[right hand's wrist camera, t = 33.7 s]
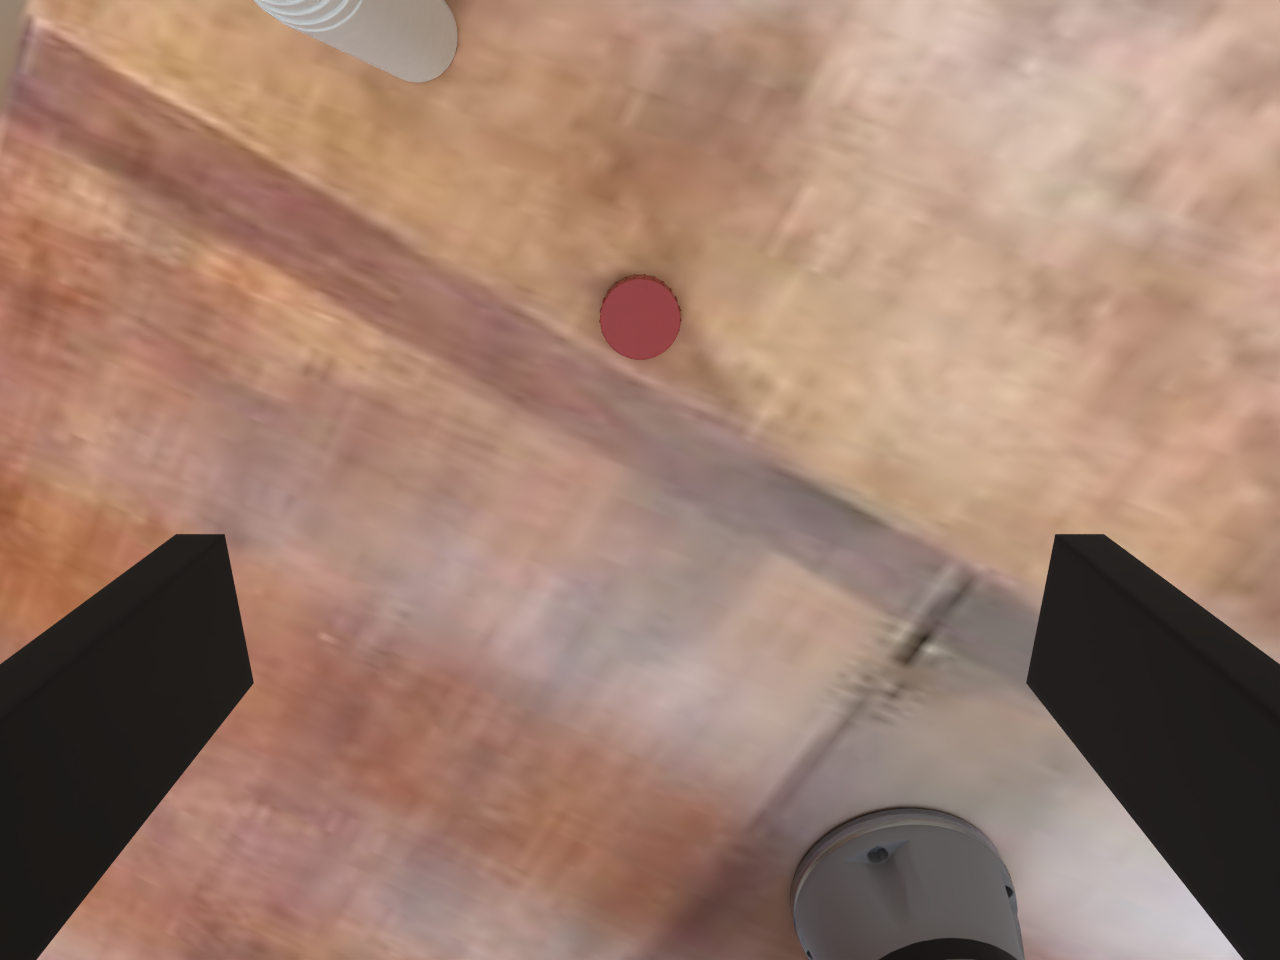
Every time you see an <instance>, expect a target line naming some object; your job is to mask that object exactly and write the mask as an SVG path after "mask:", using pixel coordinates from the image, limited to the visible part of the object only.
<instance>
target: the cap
mask: <svg viewBox="0 0 1280 960" xmlns="http://www.w3.org/2000/svg"><path fill="white" fill-rule="evenodd" d="M680 311H681V310H680V307H679V306H678V304H677V298H676V296H674V294H673V293H672V290H671V288H670V289H669V288H668V286H667V285H665V284H664V282H663V281H662V282H661V281H660V280H658V279H656V278H655V277H650V276H646V275H645V274H644V275H635V274H634V276H630V277H627V278H626V277H624V279H623V280H621V281H619V282H618V283H617V282H616V283H615V285H614V286H613V287H612V288H611V289H609V290H608V294H607V295H606V298H604V299H603V306H602V307H601V309H600V313H601V315H600V323H601V329H602V333H603V335H604V337H605V339H606V341H607V342H608V344H609V345H610V346H611V347H612V348H613V349H614V350H615V351H616V352H618V353H619V354H621V355H623V356H625V357H628V358H631V359H639V360H642V359H649V358H653V357H656V356H658V355H660V354H661V353H663V352H664V351H666V350H667V349H668V348H669V347H670V346H671V344H672V343H673V342H674V341H675V339H676V336H677V334H678V331H679V328H680V321H681V318H680Z"/></svg>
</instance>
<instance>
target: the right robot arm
mask: <svg viewBox="0 0 1280 960" xmlns="http://www.w3.org/2000/svg"><path fill="white" fill-rule="evenodd" d="M253 683H254V682H253V677H252V672H251V667H250V662H249V657H248V652H247V646H246V641H245V636H244V631H243V626H242V621H241V616H240V611H239V606H238V600H237V595H236V590H235V585H234V580H233V575H232V570H231V565H230V560H229V554H228V549H227V544H226V539H225V534H176V535H175V536H173V537H172V538H170V539H169V540H168V541H166V542H165V543H164V544H162V545H161V546H160V547H158V548H157V549H156V550H154V551H153V552H152V553H150V554H149V555H147V556H146V557H145V558H143V559H142V560H141V561H139V562H138V563H137V564H135V565H134V566H133V567H131V568H130V569H129V570H127V571H126V572H125V573H123V574H122V575H120V576H119V577H118V578H116V579H115V580H114V581H112V582H111V583H110V584H108V585H107V586H106V587H104V588H103V589H102V590H100V591H99V592H97V593H96V594H95V595H93V596H92V597H91V598H89V599H88V600H87V601H85V602H84V603H83V604H81V605H80V606H79V607H77V608H76V609H75V610H73V611H72V612H70V613H69V614H68V615H66V616H65V617H64V618H62V619H61V620H60V621H58V622H57V623H56V624H54V625H53V626H52V627H50V628H49V629H47V630H46V631H45V632H43V633H42V634H41V635H39V636H38V637H37V638H35V639H34V640H33V641H31V642H30V643H29V644H27V645H26V646H25V647H23V648H22V649H20V650H19V651H18V652H16V653H15V654H14V655H12V656H11V657H10V658H8V659H7V660H6V661H4V662H3V663H2V664H0V960H37V958H38V957H39V956H40V954H41V953H42V952H43V951H44V949H45V948H46V947H47V946H48V944H49V943H50V942H51V940H52V939H53V938H54V937H55V935H56V934H57V933H58V932H59V930H60V929H61V928H62V926H63V925H64V924H65V923H66V921H67V920H68V919H69V918H70V916H71V915H72V914H73V912H74V911H75V910H76V909H77V907H78V906H79V905H80V904H81V902H82V901H83V900H84V898H85V897H86V896H87V895H88V893H89V892H90V891H91V890H92V888H93V887H94V886H95V884H96V883H97V882H98V881H99V879H100V878H101V877H102V876H103V874H104V873H105V872H106V870H107V869H108V868H109V867H110V865H111V864H112V863H113V862H114V860H115V859H116V858H117V856H118V855H119V854H120V853H121V851H122V850H123V849H124V848H125V846H126V845H127V844H128V842H129V841H130V840H131V839H132V837H133V836H134V835H135V834H136V832H137V831H138V830H139V828H140V827H141V826H142V825H143V823H144V822H145V821H146V819H147V818H148V817H149V816H150V814H151V813H152V812H153V811H154V809H155V808H156V807H157V805H158V804H159V803H160V802H161V800H162V799H163V798H164V797H165V795H166V794H167V793H168V791H169V790H170V789H171V788H172V786H173V785H174V784H175V783H176V781H177V780H178V779H179V777H180V776H181V775H182V774H183V772H184V771H185V770H186V769H187V767H188V766H189V765H190V763H191V762H192V761H193V760H194V758H195V757H196V756H197V755H198V753H199V752H200V751H201V749H202V748H203V747H204V746H205V744H206V743H207V742H208V741H209V739H210V738H211V737H212V735H213V734H214V733H215V732H216V730H217V729H218V728H219V727H220V725H221V724H222V723H223V721H224V720H225V719H226V718H227V716H228V715H229V714H230V713H231V711H232V710H233V709H234V707H235V706H236V705H237V704H238V702H239V701H240V700H241V699H242V697H243V696H244V695H245V693H246V692H247V691H248V690H249V688H250V687H251V686H252V685H253ZM1026 683H1027V685H1028V686H1029V687H1030V688H1031V690H1032V691H1033V692H1034V693H1035V695H1036V696H1037V697H1038V699H1039V700H1040V701H1041V702H1042V704H1043V705H1044V706H1045V707H1046V709H1047V710H1048V711H1049V713H1050V714H1051V715H1052V716H1053V718H1054V719H1055V720H1056V721H1057V723H1058V724H1059V725H1060V727H1061V728H1062V729H1063V730H1064V732H1065V733H1066V734H1067V735H1068V737H1069V738H1070V739H1071V741H1072V742H1073V743H1074V744H1075V746H1076V747H1077V748H1078V749H1079V751H1080V752H1081V753H1082V755H1083V756H1084V757H1085V758H1086V760H1087V761H1088V762H1089V763H1090V765H1091V766H1092V767H1093V769H1094V770H1095V771H1096V772H1097V774H1098V775H1099V776H1100V777H1101V779H1102V780H1103V781H1104V783H1105V784H1106V785H1107V786H1108V788H1109V789H1110V790H1111V791H1112V793H1113V794H1114V795H1115V797H1116V798H1117V799H1118V800H1119V802H1120V803H1121V804H1122V805H1123V807H1124V808H1125V809H1126V811H1127V812H1128V813H1129V814H1130V816H1131V817H1132V818H1133V820H1134V821H1135V822H1136V823H1137V825H1138V826H1139V827H1140V828H1141V830H1142V831H1143V832H1144V834H1145V835H1146V836H1147V837H1148V839H1149V840H1150V841H1151V842H1152V844H1153V845H1154V846H1155V848H1156V849H1157V850H1158V851H1159V853H1160V854H1161V855H1162V856H1163V858H1164V859H1165V860H1166V862H1167V863H1168V864H1169V865H1170V867H1171V868H1172V869H1173V870H1174V872H1175V873H1176V874H1177V876H1178V877H1179V878H1180V879H1181V881H1182V882H1183V883H1184V884H1185V886H1186V887H1187V888H1188V890H1189V891H1190V892H1191V893H1192V895H1193V896H1194V897H1195V898H1196V900H1197V901H1198V902H1199V904H1200V905H1201V906H1202V907H1203V909H1204V910H1205V911H1206V912H1207V914H1208V915H1209V916H1210V918H1211V919H1212V920H1213V921H1214V923H1215V924H1216V925H1217V926H1218V928H1219V929H1220V930H1221V932H1222V933H1223V934H1224V935H1225V937H1226V938H1227V939H1228V940H1229V942H1230V943H1231V944H1232V946H1233V947H1234V948H1235V949H1236V951H1237V952H1238V953H1239V954H1240V956H1241V957H1242V958H1243V960H1280V664H1278V663H1277V662H1276V661H1274V660H1273V659H1272V658H1270V657H1269V656H1268V655H1266V654H1265V653H1264V652H1262V651H1261V650H1260V649H1258V648H1257V647H1255V646H1254V645H1253V644H1251V643H1250V642H1249V641H1247V640H1246V639H1245V638H1243V637H1242V636H1241V635H1239V634H1238V633H1237V632H1235V631H1234V630H1233V629H1231V628H1230V627H1228V626H1227V625H1226V624H1224V623H1223V622H1222V621H1220V620H1219V619H1218V618H1216V617H1215V616H1214V615H1212V614H1211V613H1210V612H1208V611H1207V610H1205V609H1204V608H1203V607H1201V606H1200V605H1199V604H1197V603H1196V602H1195V601H1193V600H1192V599H1191V598H1189V597H1188V596H1187V595H1185V594H1184V593H1183V592H1181V591H1180V590H1178V589H1177V588H1176V587H1174V586H1173V585H1172V584H1170V583H1169V582H1168V581H1166V580H1165V579H1164V578H1162V577H1161V576H1160V575H1158V574H1157V573H1155V572H1154V571H1153V570H1151V569H1150V568H1149V567H1147V566H1146V565H1145V564H1143V563H1142V562H1141V561H1139V560H1138V559H1137V558H1135V557H1134V556H1133V555H1131V554H1130V553H1128V552H1127V551H1126V550H1124V549H1123V548H1122V547H1120V546H1119V545H1118V544H1116V543H1115V542H1114V541H1112V540H1111V539H1110V538H1108V537H1107V536H1105V535H1104V534H1055V539H1054V544H1053V549H1052V554H1051V559H1050V565H1049V570H1048V575H1047V580H1046V585H1045V590H1044V595H1043V600H1042V606H1041V611H1040V616H1039V621H1038V626H1037V631H1036V636H1035V641H1034V646H1033V652H1032V657H1031V662H1030V667H1029V672H1028V677H1027V682H1026ZM790 903H791V910H792V915H793V920H794V925H795V929H796V933H797V936H798V939H799V941H800V943H801V945H802V948H803V950H804V952H805V954H806V956H807V957H808V959H809V960H1025V957H1024V950H1023V943H1022V936H1021V930H1020V925H1019V921H1018V917H1017V902H1016V895H1015V891H1014V887H1013V884H1012V881H1011V877H1010V875H1009V872H1008V870H1007V868H1006V866H1005V864H1004V862H1003V861H1002V859H1001V857H1000V855H999V853H998V851H997V850H996V848H995V847H994V845H993V844H992V843H991V841H990V840H989V839H988V838H987V837H986V836H985V835H984V834H983V833H982V832H981V831H979V830H978V829H977V828H975V827H974V826H972V825H971V824H969V823H967V822H966V821H964V820H962V819H959V818H957V817H955V816H952V815H949V814H946V813H942V812H938V811H933V810H926V809H908V808H906V809H893V810H886V811H881V812H876V813H872V814H869V815H865V816H862V817H860V818H857V819H854V820H852V821H850V822H848V823H846V824H844V825H842V826H840V827H838V828H837V829H835V830H833V831H832V832H830V833H829V834H828V835H826V836H825V837H824V838H823V839H821V840H820V841H819V842H818V843H817V844H816V845H815V846H814V847H813V848H812V849H811V850H810V851H809V852H808V854H807V855H806V856H805V858H804V859H803V861H802V862H801V864H800V865H799V867H798V869H797V871H796V874H795V876H794V879H793V883H792V887H791V895H790Z"/></svg>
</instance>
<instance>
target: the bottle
mask: <svg viewBox="0 0 1280 960" xmlns="http://www.w3.org/2000/svg"><path fill="white" fill-rule="evenodd" d="M254 1H255V2H256V3H257V5H258V6H260V7H261V8H262V9H263V10H264V11H266V12H267V13H269V14H270V15H272V16H273V17H274V18H276V19H277V20H278V21H280V22H282V23H283V24H285V25H287V26H289V27H291V28H293V29H296V30H298V31H300V32H302V33H304V34H306V35H308V36H310V37H313V38H315V39H317V40H319V41H321V42H323V43H325V44H328V45H330V46H332V47H334V48H336V49H338V50H340V51H342V52H345V53H347V54H349V55H351V56H353V57H355V58H357V59H360V60H362V61H364V62H366V63H368V64H370V65H372V66H374V67H377V68H379V69H381V70H383V71H385V72H387V73H389V74H391V75H394V76H396V77H398V78H400V79H402V80H405V81H409V82H418V83H420V82H426V81H430V80H432V79H435V78H436V77H438V76H440V75H441V74H442V73H443V72H444V71H445V70H446V69H447V68H448V67H449V65H450V64H451V62H452V60H453V58H454V55H455V52H456V48H457V41H458V34H457V26H456V22H455V19H454V16H453V14H452V11H451V10H450V8H449V6H448V5H447V3H446V2H445V1H444V0H254Z"/></svg>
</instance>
